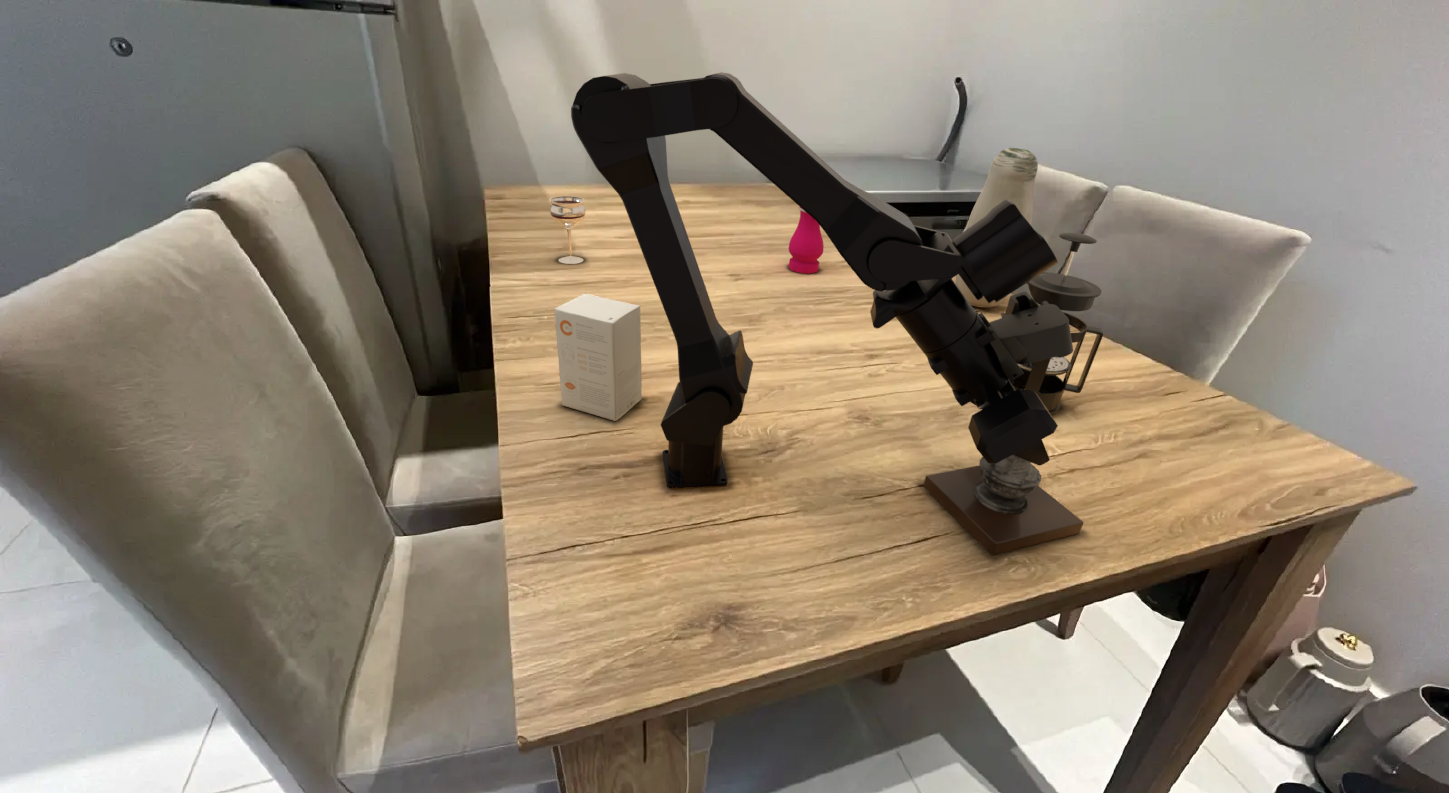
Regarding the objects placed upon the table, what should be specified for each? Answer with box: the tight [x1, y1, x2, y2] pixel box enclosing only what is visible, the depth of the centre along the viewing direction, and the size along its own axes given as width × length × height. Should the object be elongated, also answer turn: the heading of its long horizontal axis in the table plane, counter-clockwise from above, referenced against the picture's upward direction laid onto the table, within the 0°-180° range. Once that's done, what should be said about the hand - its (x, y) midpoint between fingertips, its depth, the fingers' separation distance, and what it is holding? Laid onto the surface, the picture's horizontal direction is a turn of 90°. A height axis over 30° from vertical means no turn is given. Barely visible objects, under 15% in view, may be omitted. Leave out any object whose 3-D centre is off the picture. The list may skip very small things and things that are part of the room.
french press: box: [1013, 232, 1104, 416], centre depth 82 cm, size 12×9×23 cm
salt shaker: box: [974, 455, 1042, 514], centre depth 62 cm, size 6×6×12 cm
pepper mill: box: [788, 205, 825, 274], centre depth 127 cm, size 7×7×20 cm
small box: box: [553, 292, 643, 422], centre depth 76 cm, size 8×6×13 cm
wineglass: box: [549, 195, 586, 265], centre depth 125 cm, size 7×7×12 cm
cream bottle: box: [955, 147, 1039, 308], centre depth 113 cm, size 10×10×28 cm
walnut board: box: [923, 464, 1085, 556], centre depth 65 cm, size 11×11×2 cm
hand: (1035, 446), depth 62 cm, fingers open, 5 cm apart
